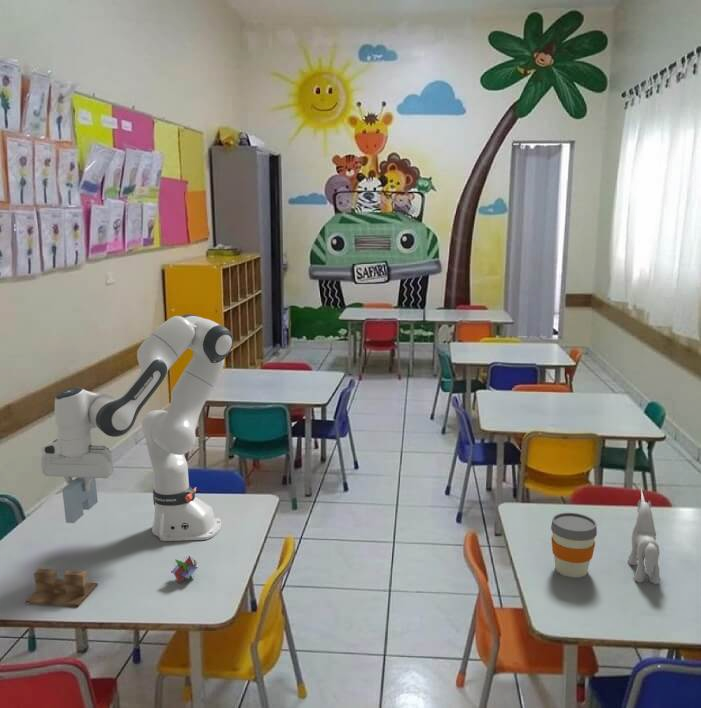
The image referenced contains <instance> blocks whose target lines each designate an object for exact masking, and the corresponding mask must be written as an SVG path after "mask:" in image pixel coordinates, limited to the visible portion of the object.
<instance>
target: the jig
mask: <svg viewBox="0 0 701 708" xmlns="http://www.w3.org/2000/svg"><path fill="white" fill-rule="evenodd" d="M87 573H88V572H87V570H72V569H71V570H70V569H68V570H67V571H65V573H64V574H63V578H64V579H58V570H57V569H56V568H54V569H53V568H41V567H40V568H39V567H38V568H37V569H36V570H35V571H34V572H33V575H34V585H35V591H34V592H33V593H32V594H31V595H30V596H29V597H28V598H27V599H26V600H25V604H26V603H29V604H28V605H37V606H38V605H41V606H56V607H70V608H79V607H80V606H81V605H82V604H83V602H84V601H85V600H87V598H88V597H89V596H90V595H91V594H92V593H93V592H94V590H95V589H96V588H97V587H98V585H99V584H98V582H92V581H88V574H87Z"/></svg>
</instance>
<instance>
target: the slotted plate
mask: <svg viewBox="0 0 701 708" xmlns="http://www.w3.org/2000/svg"><path fill="white" fill-rule="evenodd" d="M86 482H87V481H85V478H81V477H75V479H74V480H73V482H71V483H70V484H69V485H68V484H67V485H66V486H65V487H63V488H62V490H61V491H62V498H63V499H62V500H63V508H64V516H65V517H64V519H65V523H66V524H75V523H76V522H77V521H78V520H79V519H81V518H82V517H83V516H84V510H85V511H87V510H88V511H89V510H91V509H92V508H93V507H94V506H95V505H96V504H97V503H99V500H98V493H97V492H98V491H97V481H96V478H93V479H92V481H91V483H90V490H89V491H88V492H85V491H82V490H83V489H82V486H83V485H84V484H86Z"/></svg>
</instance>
